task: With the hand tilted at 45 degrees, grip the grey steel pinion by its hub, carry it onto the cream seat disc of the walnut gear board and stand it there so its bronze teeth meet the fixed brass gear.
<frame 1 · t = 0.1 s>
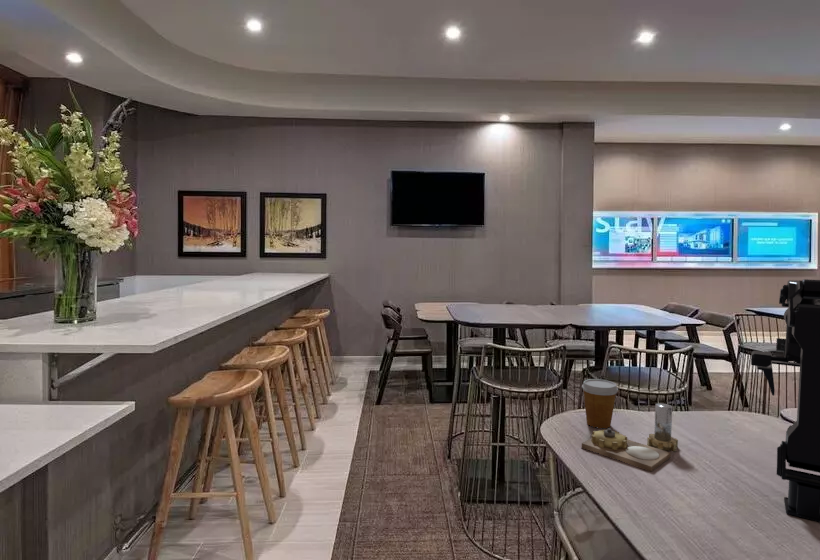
hand: (797, 398, 115), 15 cm above the table, tool pointing down, fingers open, 9 cm apart
pinion: (662, 446, 123), on the table
gear board: (625, 452, 119), on the table
disposable coffee cup: (598, 425, 137), on the table
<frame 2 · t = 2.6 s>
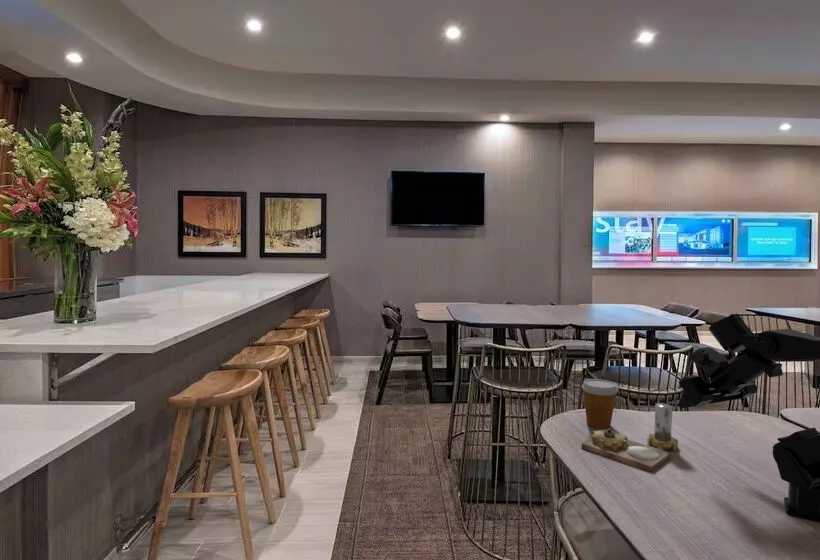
hand: (693, 404, 114), 13 cm above the table, tool tilted 45°, fingers open, 9 cm apart
nothing on the table moved.
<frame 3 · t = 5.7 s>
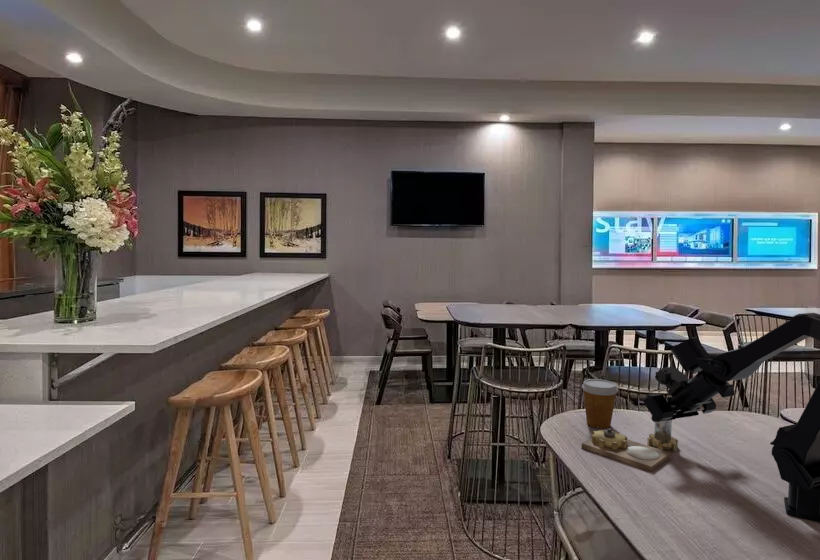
hand: (658, 418, 124), 7 cm above the table, tool tilted 45°, fingers closed on pinion, 4 cm apart
pinion: (662, 446, 123), on the table, touching gripper
everything else where it was.
when the fingers open (10 cm above the table, at t = 8.6 s): pinion drops 2 cm, resting on gear board.
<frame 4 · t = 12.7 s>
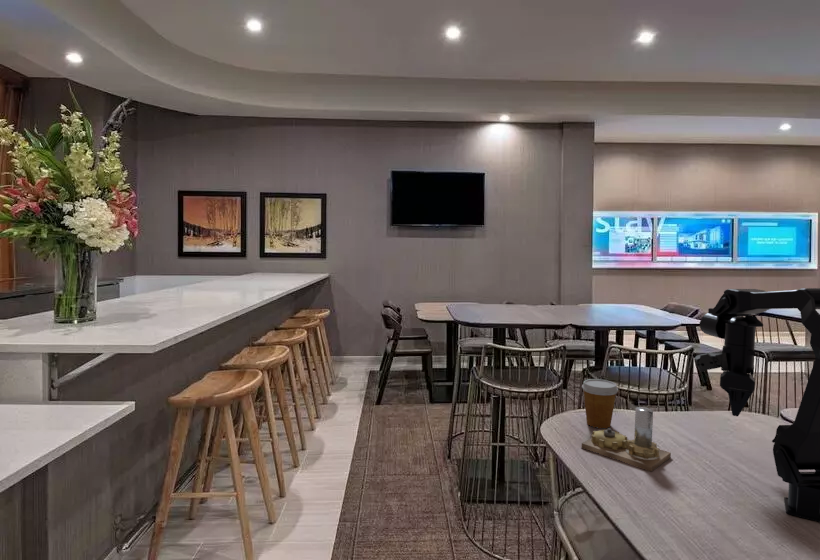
hand: (735, 410, 112), 13 cm above the table, tool pointing down, fingers open, 9 cm apart
pinion: (642, 452, 116), point 1 cm above the table, touching gear board
everything else where it was.
at the end: pinion 0.1 cm from the target spot, point 1.4 cm above the table; pinion tilted 0°; the gripper is holding nothing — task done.
